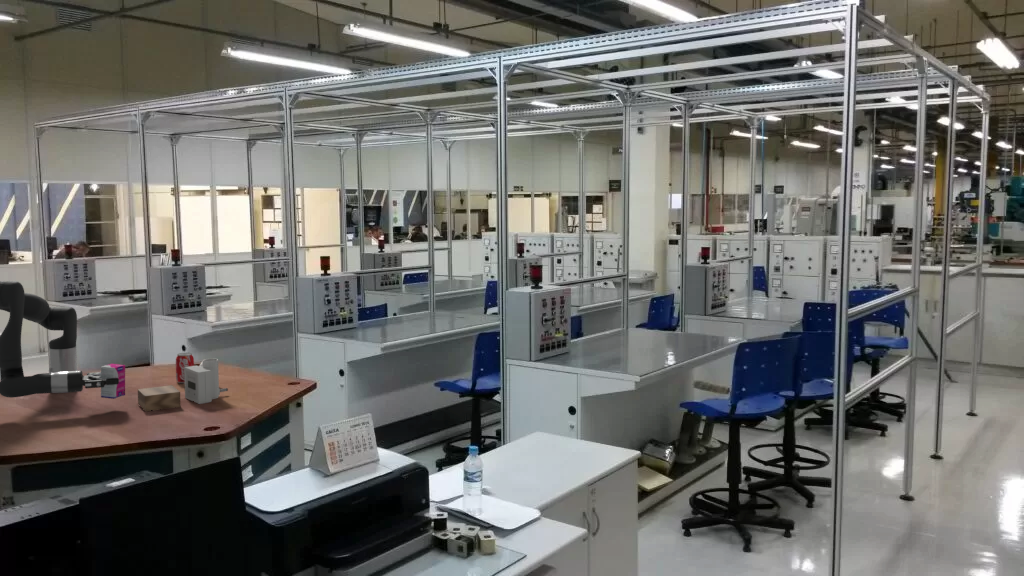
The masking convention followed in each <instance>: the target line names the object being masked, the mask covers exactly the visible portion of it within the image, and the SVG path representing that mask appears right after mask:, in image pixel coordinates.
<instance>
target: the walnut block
mask: <svg viewBox="0 0 1024 576" xmlns="http://www.w3.org/2000/svg"><path fill="white" fill-rule="evenodd" d="M138 404H139V405H140V406H141V407H142V408H143V409H142V408H141V407H140V406H139V405H138ZM137 405H138V406H139V407H140V408H141V409H142V410H143V411H144V410H145V411H146V412H152V411H151V410H153V411H161V410H166V409H174V408H175V407H176V408H181V405H182V404H181V391H180V390H179V389H177V388H176V387H175V386H173V385H163V386H155V387H144V388H138V389H137ZM176 408H175V409H176ZM160 409H161V410H160ZM145 411H144V412H145Z"/></svg>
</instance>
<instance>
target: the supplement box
mask: <svg viewBox="0 0 1024 576" xmlns="http://www.w3.org/2000/svg"><path fill="white" fill-rule="evenodd" d="M100 372H101V378H105V379H108V378H118V379H119V384H115V385H107V386H104V387H103V388H102V387H100V398H101V399H102V398H103V399H111V400H112V399H115V400H116V399H117V398H120V397H124V396H126V365H125V364H119V363H109V364H105V365H101V366H100Z"/></svg>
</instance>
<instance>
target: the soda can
mask: <svg viewBox="0 0 1024 576" xmlns="http://www.w3.org/2000/svg"><path fill="white" fill-rule="evenodd" d="M176 355H177V356H176V357H175V379H176V382H177V383H179V384H185V372H184V367H189V366H195V357H194V356H193V353H192V352H181V353H180V352H179V353H177V354H176Z"/></svg>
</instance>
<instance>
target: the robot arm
mask: <svg viewBox="0 0 1024 576" xmlns="http://www.w3.org/2000/svg"><path fill="white" fill-rule="evenodd" d="M0 310H1V311H5V312H8V313H9V318H8V321H7V324H6V326H5V327H4V329H3V331H2V333H1V334H0V395H1V396H2V397H5V398H21V397H26V396H33V395H37V394H41V395H42V394H64V393H78V392H79V393H80V392H82V391H83V390H84V388H85V389H97V388H98V389H99V388H100V389H101V387H102V388H103V387H104V386H107V385H115V384H119V379H118V378H108V379H105V378H101V371H99V372H98V371H96V372H87V373H86V375H83V370H81V369H80V370H78V361H77V360H78V357H77V356H78V355H77V338H78V332H77V331H78V315H77V311H76V309H75V308H74V307H70V306H50V304H49V302H48V301H47V300H46V299H45V298H43V297H41V296H39V295H36V294H33V293H30V292H29V293H28V292H25V288H24V285H22V283H21V282H19V281H16V280H15V281H13V280H12V281H10V280H8V281H5V280H4V281H0ZM24 320H26V321H30V322H32V323H36V324H38V325H40V326H41V327H43V328H44V329H45V330H49V331H63V332H62V333H63V334H62V335H61V336H60V337H57V338H54V339H51V340H50V341H49V342H48V351H49V354H48V355H49V370H48V371H49V372H48V373H47V372H45V373H44V372H43V373H36V374H33V375H30V376H25V374H24V373H25V372H24V369H23V356H22V355H23V353H22V329H23V322H24Z"/></svg>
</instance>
